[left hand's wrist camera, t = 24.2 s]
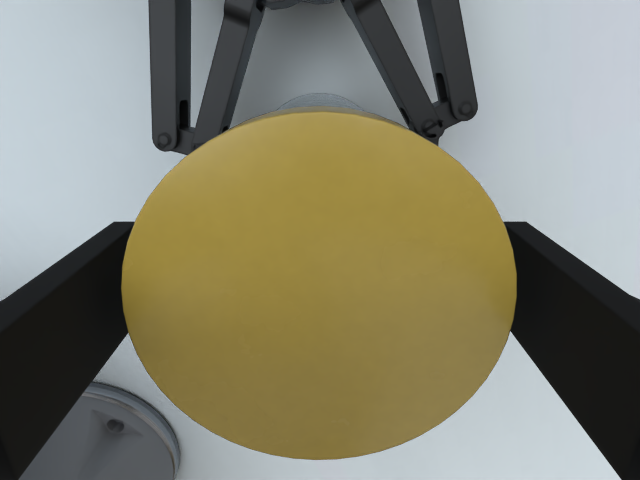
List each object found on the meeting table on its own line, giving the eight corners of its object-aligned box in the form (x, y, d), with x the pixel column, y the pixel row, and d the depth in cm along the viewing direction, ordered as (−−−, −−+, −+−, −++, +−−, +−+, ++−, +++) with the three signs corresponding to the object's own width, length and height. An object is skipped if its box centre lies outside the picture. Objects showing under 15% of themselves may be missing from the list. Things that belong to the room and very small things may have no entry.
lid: (212, 36, 10) (189, 27, 8) (557, 198, 11) (601, 220, 9) (113, 352, 13) (82, 395, 11) (391, 447, 14) (401, 498, 12)
